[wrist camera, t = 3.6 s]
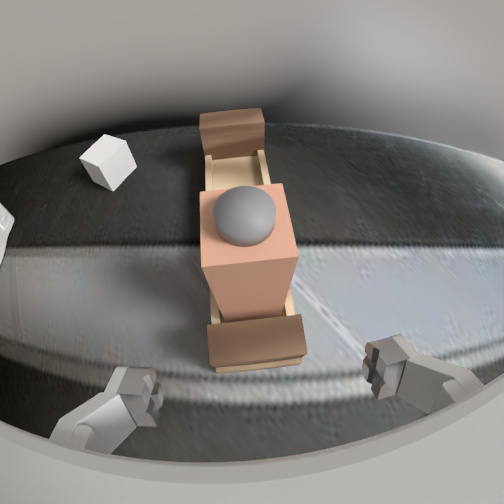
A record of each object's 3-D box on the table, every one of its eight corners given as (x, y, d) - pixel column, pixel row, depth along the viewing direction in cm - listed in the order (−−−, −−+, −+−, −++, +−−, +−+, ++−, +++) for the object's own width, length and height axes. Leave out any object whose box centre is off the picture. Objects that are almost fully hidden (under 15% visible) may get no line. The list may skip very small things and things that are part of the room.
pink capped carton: (280, 316, 23) (301, 246, 12) (225, 322, 23) (197, 257, 12) (273, 266, 25) (283, 171, 14) (221, 272, 25) (196, 179, 14)
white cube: (113, 192, 33) (98, 166, 29) (93, 181, 34) (79, 158, 30) (137, 166, 35) (125, 140, 31) (116, 158, 36) (104, 134, 32)
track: (298, 364, 23) (313, 355, 17) (219, 373, 23) (205, 368, 17) (260, 148, 36) (260, 105, 29) (207, 153, 35) (200, 111, 29)
